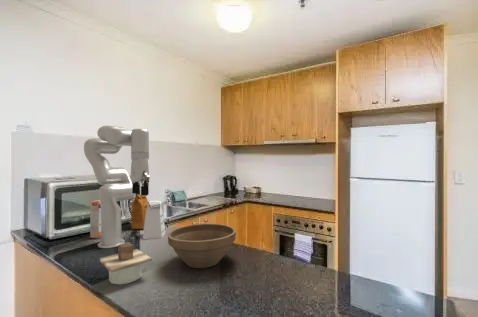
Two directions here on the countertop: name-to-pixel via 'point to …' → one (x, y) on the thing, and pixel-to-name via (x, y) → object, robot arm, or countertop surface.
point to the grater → (154, 222)
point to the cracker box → (95, 219)
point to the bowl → (126, 275)
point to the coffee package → (139, 211)
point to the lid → (124, 258)
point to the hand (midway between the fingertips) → (140, 194)
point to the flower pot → (202, 243)
